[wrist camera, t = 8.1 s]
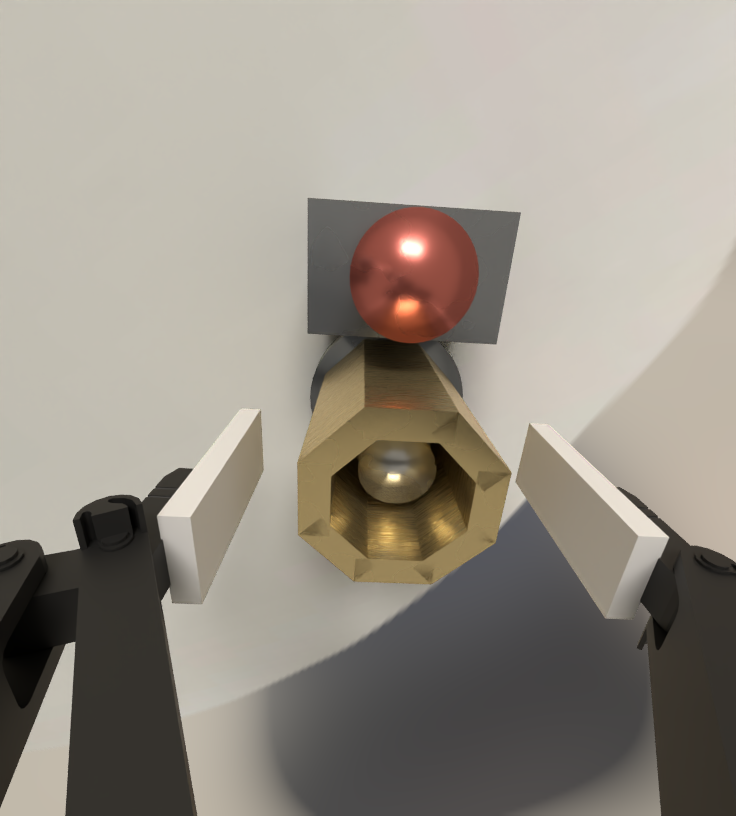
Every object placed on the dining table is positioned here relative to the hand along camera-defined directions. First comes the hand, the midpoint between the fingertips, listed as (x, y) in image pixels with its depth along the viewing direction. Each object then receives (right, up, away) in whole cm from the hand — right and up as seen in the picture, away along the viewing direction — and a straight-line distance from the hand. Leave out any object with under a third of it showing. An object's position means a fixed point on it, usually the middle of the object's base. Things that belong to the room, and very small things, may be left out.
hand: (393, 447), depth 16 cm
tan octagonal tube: (0, +2, +5) cm, 5 cm away
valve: (0, +5, +5) cm, 7 cm away
